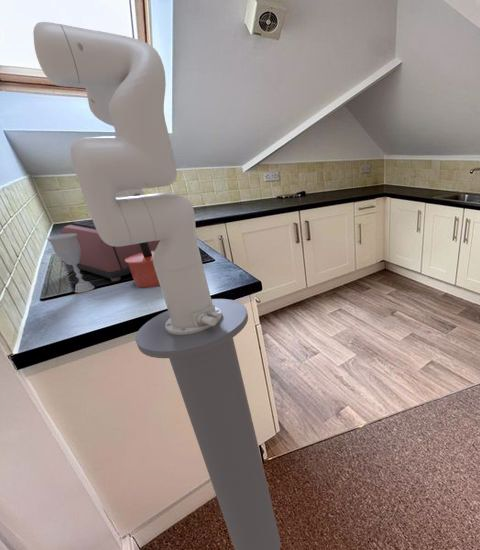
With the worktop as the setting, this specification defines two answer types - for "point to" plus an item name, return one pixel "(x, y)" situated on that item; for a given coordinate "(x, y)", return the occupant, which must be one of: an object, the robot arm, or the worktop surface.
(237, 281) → the worktop surface
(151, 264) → the pot
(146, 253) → the lid
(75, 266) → the chalice
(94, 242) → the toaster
